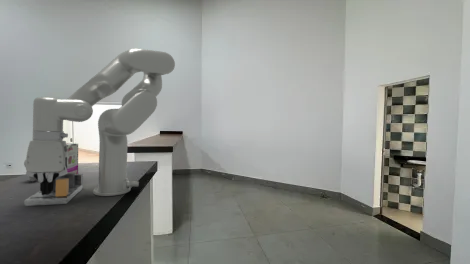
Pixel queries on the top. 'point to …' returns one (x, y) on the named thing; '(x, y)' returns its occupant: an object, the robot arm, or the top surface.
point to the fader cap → (62, 187)
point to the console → (40, 199)
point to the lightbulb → (30, 176)
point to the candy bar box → (72, 158)
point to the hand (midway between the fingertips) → (46, 193)
